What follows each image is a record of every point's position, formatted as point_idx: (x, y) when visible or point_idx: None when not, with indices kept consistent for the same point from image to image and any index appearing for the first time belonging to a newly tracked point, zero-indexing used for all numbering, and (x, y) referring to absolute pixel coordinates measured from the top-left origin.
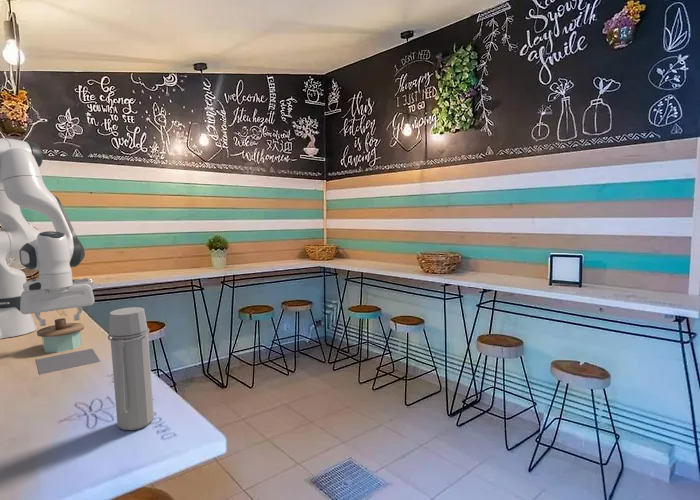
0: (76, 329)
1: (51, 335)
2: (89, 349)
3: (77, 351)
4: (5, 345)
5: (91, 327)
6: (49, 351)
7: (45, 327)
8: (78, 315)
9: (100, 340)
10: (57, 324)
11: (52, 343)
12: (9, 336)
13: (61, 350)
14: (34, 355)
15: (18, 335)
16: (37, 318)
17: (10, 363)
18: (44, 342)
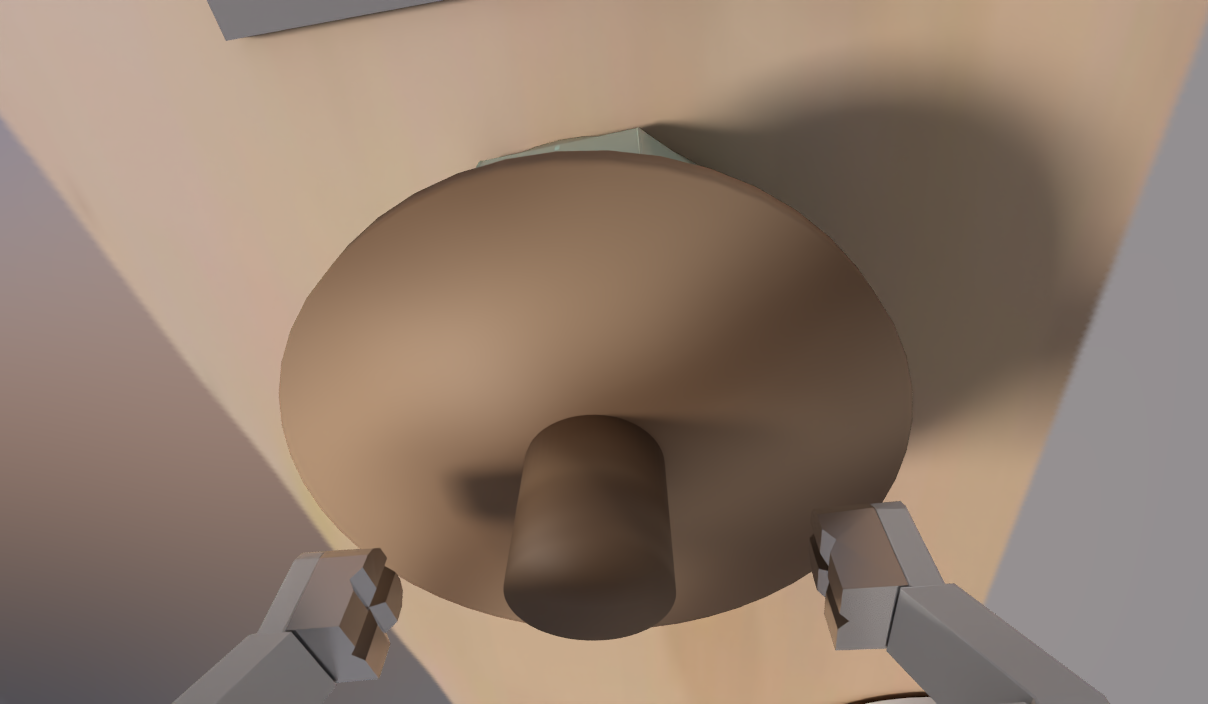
0: (330, 293)
1: (723, 178)
2: (250, 10)
3: (396, 5)
4: (990, 585)
5: (458, 674)
6: None
7: (776, 586)
8: (276, 625)
9: (280, 373)
10: (630, 489)
11: None
12: (931, 701)
13: (597, 139)
14: (866, 209)
15: (881, 701)
16: (1019, 639)
17: (1153, 20)
18: None
